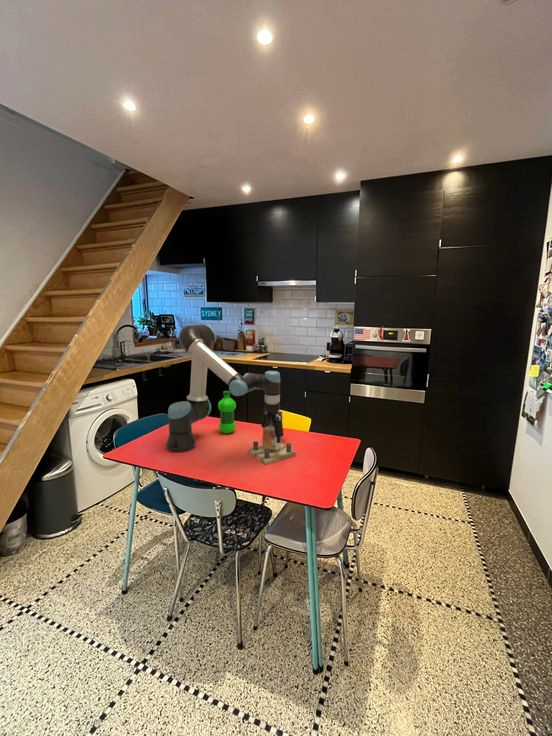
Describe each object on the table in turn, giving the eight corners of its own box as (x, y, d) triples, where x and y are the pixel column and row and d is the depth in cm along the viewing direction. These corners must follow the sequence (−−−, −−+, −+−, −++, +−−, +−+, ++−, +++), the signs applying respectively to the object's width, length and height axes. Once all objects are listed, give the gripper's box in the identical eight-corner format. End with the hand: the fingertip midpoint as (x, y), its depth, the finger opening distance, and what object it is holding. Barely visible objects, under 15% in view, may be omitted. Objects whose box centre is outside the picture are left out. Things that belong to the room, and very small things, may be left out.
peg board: (249, 452, 173) (248, 441, 172) (277, 445, 183) (278, 434, 182) (265, 464, 160) (265, 452, 159) (295, 455, 170) (295, 444, 169)
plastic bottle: (215, 432, 201) (214, 391, 197) (229, 427, 208) (229, 388, 204) (224, 436, 194) (224, 394, 190) (239, 432, 201) (239, 391, 197)
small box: (262, 448, 170) (262, 428, 168) (266, 444, 175) (267, 425, 173) (277, 451, 167) (277, 431, 165) (281, 447, 172) (281, 427, 170)
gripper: (291, 406, 160) (290, 450, 164) (267, 396, 178) (266, 436, 182) (278, 409, 156) (277, 454, 160) (254, 398, 174) (254, 439, 178)
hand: (271, 444), depth 171 cm, fingers closed on small box, 9 cm apart
